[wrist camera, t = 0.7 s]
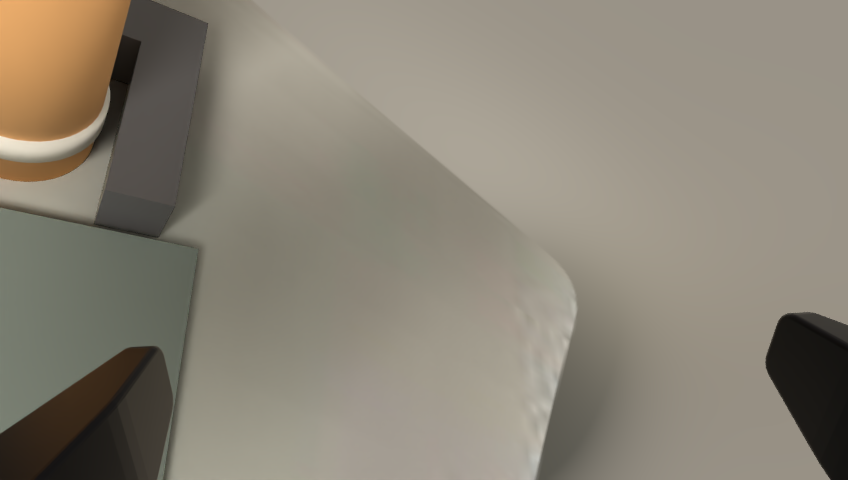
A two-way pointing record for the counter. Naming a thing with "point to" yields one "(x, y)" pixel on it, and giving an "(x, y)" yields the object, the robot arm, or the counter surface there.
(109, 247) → the mat
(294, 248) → the counter surface
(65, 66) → the orange peg
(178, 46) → the dark grey piece
